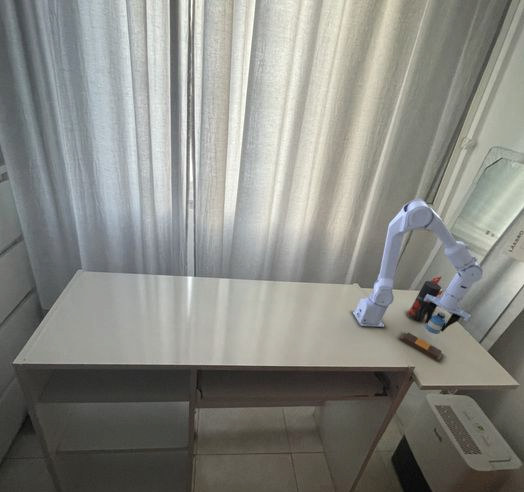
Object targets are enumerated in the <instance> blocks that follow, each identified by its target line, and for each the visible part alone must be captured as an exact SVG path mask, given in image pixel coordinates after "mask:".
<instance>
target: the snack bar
mask: <svg viewBox="0 0 524 492" xmlns="http://www.w3.org/2000/svg"><path fill="white" fill-rule="evenodd" d="M399 340H400V341H402V342H403V343H405V344H407V345H409V346H411V347H412V348H414V349H416V350H417V351H419V352H421V353H422V354H424V355H426V356H428V357H429V358H431V359H433V360H435V361H437V362H440V360H441V358H442V356H443V355H444V353H442V350H441V349H439V348H437V347H435V346H433V345H432V344H430V343H428V342H426V341H425V340H423V339H422V338H419V337H417V336H415V335H414V334H412V333H411V332H407V333H406V332H404V333H403V334H402V336H400V339H399Z"/></svg>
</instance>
